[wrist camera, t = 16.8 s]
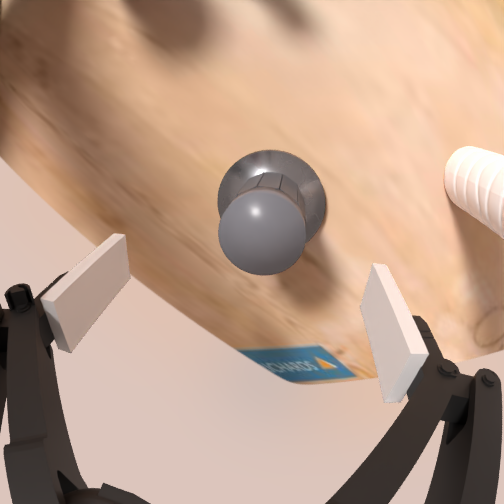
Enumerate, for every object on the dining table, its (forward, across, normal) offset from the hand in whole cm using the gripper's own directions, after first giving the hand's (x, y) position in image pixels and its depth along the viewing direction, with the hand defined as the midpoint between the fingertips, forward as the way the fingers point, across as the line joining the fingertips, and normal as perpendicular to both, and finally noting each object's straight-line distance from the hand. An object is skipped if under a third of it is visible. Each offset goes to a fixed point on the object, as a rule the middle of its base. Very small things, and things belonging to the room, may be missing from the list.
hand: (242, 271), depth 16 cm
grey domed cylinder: (+14, +1, -1) cm, 14 cm away
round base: (+14, +1, -1) cm, 14 cm away
